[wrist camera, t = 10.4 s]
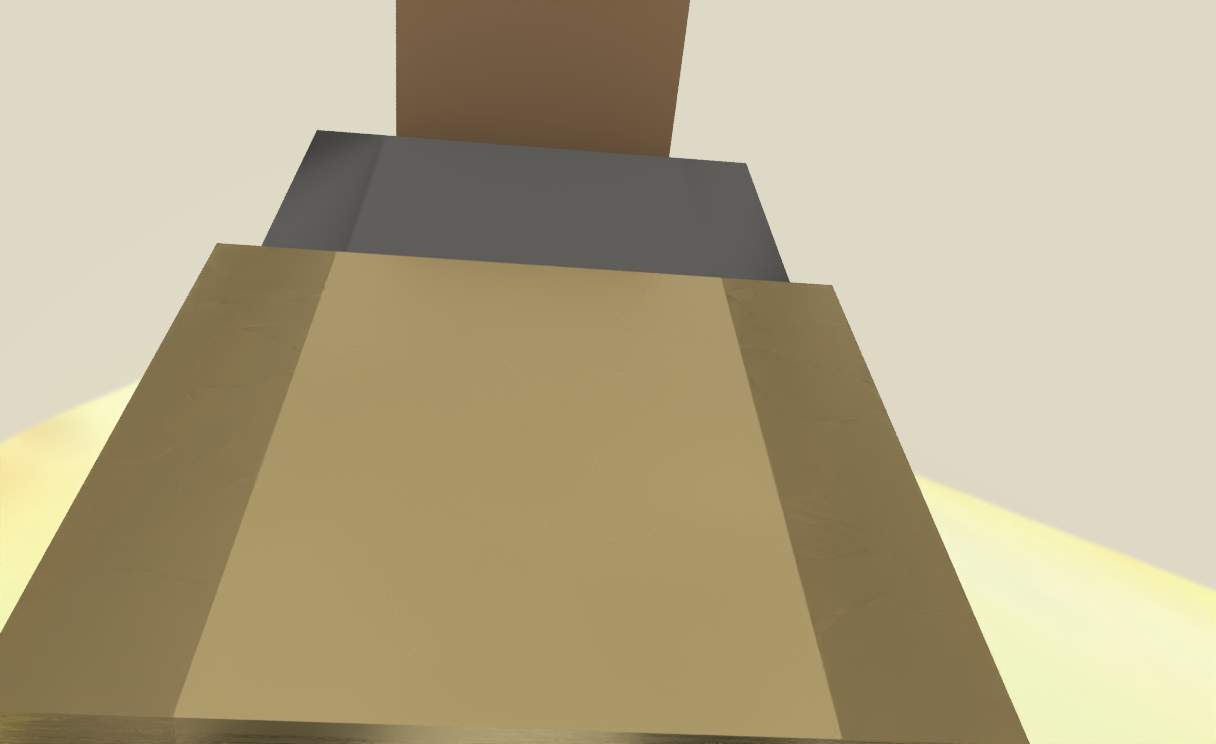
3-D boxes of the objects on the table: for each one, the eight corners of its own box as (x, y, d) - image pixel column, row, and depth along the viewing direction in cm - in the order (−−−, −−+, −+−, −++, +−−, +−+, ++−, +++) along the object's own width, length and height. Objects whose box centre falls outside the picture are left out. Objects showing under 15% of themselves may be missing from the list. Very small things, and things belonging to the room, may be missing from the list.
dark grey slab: (688, 492, 19) (746, 163, 16) (718, 679, 15) (798, 306, 12) (331, 474, 18) (316, 130, 15) (280, 663, 15) (249, 269, 12)
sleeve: (736, 696, 16) (832, 285, 12) (825, 1203, 11) (1031, 746, 7) (258, 679, 15) (216, 243, 12) (110, 1206, 10) (-42, 709, 7)
